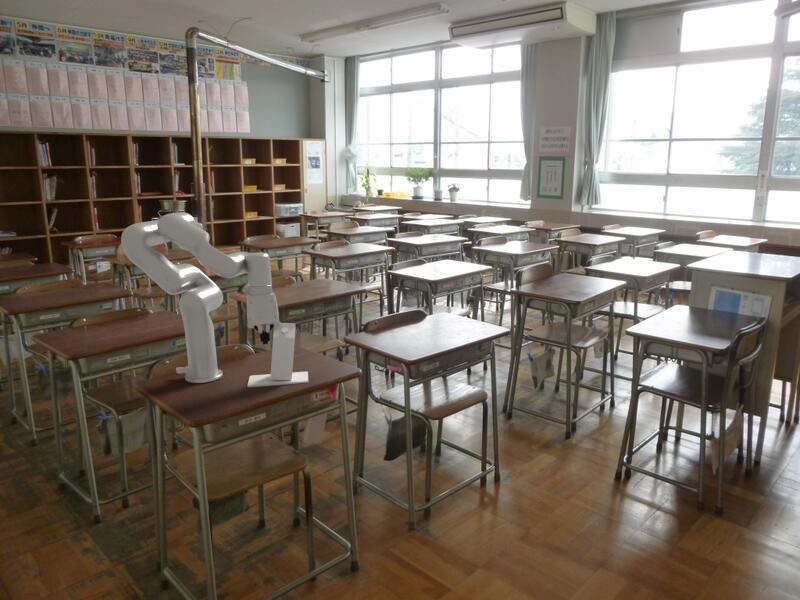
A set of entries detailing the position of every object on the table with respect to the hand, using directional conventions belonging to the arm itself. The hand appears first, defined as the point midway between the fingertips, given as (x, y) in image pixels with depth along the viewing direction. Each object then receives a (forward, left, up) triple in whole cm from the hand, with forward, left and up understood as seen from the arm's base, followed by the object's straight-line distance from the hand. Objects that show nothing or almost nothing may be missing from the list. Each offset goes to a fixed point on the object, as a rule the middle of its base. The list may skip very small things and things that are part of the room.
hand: (265, 343), depth 206 cm
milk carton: (+4, 0, -13) cm, 13 cm away
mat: (+3, 0, -13) cm, 14 cm away
